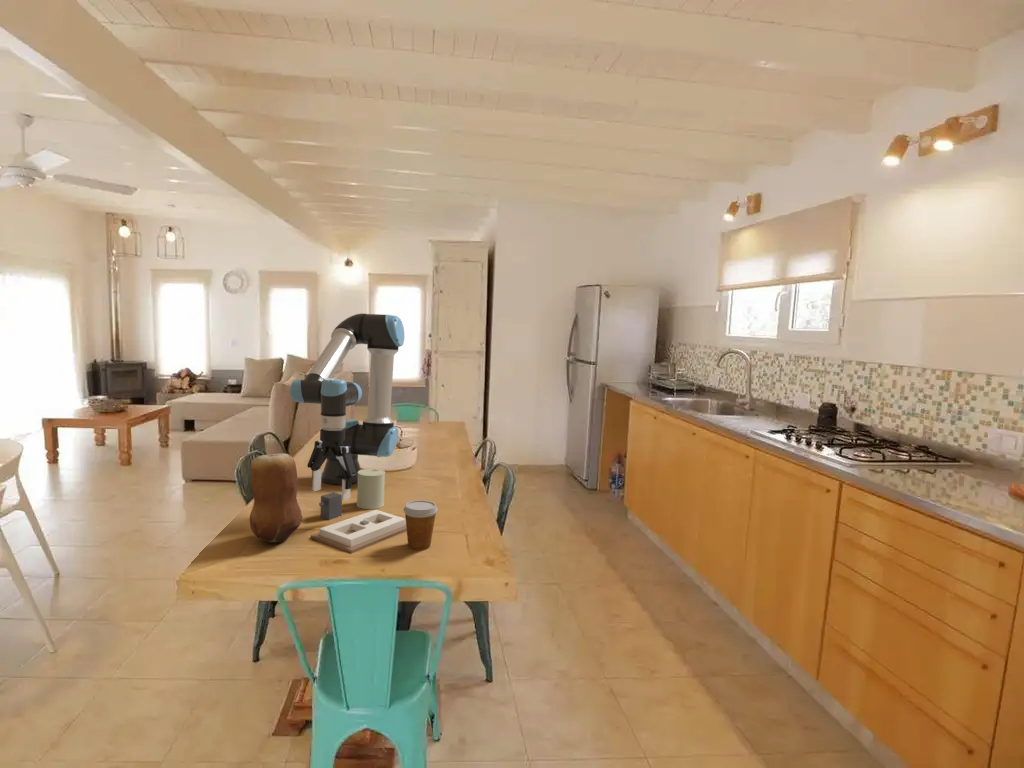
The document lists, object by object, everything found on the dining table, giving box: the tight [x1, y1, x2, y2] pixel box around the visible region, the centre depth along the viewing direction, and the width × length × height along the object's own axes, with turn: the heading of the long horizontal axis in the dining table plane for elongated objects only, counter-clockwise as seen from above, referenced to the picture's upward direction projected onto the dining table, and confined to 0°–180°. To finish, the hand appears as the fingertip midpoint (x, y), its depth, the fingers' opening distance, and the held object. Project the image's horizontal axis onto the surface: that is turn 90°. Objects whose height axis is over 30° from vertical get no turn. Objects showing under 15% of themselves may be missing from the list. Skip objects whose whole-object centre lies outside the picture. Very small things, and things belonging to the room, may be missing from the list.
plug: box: [318, 492, 343, 521], centre depth 183 cm, size 4×7×7 cm, turn 148°
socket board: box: [310, 509, 407, 554], centre depth 172 cm, size 17×25×3 cm
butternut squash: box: [249, 452, 303, 543], centre depth 161 cm, size 14×13×25 cm
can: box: [356, 468, 386, 510], centre depth 196 cm, size 9×9×12 cm
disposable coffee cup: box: [403, 499, 438, 551], centre depth 164 cm, size 10×10×12 cm
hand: (330, 494), depth 183 cm, fingers open, 13 cm apart
